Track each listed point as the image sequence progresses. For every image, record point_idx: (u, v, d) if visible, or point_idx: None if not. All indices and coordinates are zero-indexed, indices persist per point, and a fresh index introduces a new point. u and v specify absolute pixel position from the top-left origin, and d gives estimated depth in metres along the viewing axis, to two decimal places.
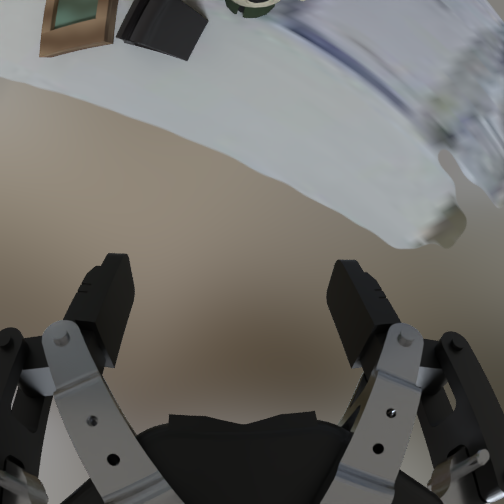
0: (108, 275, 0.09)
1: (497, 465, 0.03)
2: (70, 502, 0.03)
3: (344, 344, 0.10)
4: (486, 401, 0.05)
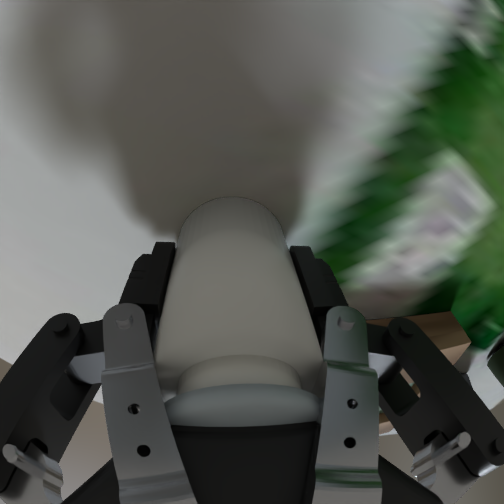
0: (161, 261, 0.09)
1: (481, 443, 0.04)
2: (70, 502, 0.03)
3: None
4: (452, 383, 0.06)
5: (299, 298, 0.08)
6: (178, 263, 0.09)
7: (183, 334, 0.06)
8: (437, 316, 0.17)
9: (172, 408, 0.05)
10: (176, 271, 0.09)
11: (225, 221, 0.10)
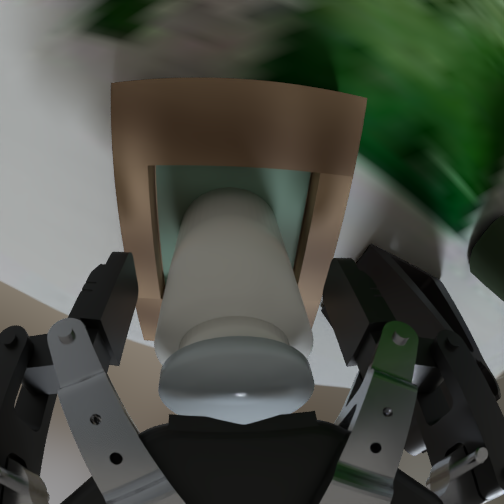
0: (113, 273, 0.09)
1: (496, 463, 0.03)
2: (70, 502, 0.03)
3: (339, 342, 0.10)
4: (484, 399, 0.05)
5: (288, 272, 0.09)
6: (180, 244, 0.10)
7: (185, 298, 0.07)
8: None
9: (174, 360, 0.06)
10: (179, 250, 0.10)
11: (223, 207, 0.11)
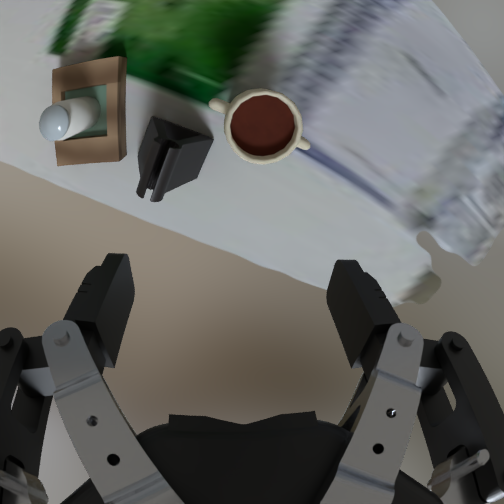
0: (108, 275, 0.09)
1: (497, 465, 0.03)
2: (70, 502, 0.03)
3: (344, 345, 0.10)
4: (486, 401, 0.05)
5: (78, 103, 0.25)
6: None
7: None
8: None
9: (43, 113, 0.22)
10: None
11: None
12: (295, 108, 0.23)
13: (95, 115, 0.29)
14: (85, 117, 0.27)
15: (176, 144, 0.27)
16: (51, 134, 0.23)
